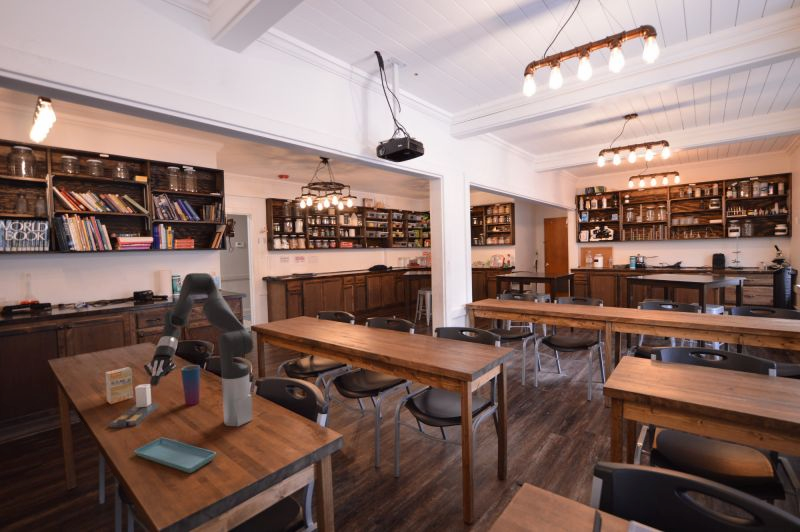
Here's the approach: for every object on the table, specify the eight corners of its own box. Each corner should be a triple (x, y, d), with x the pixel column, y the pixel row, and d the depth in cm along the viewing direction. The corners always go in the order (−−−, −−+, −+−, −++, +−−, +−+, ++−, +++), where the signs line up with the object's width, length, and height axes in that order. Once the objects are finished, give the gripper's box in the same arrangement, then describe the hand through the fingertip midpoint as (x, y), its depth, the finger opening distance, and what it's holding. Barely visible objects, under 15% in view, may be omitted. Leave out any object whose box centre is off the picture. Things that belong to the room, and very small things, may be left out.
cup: (193, 407, 152) (191, 370, 151) (179, 406, 153) (177, 370, 152) (205, 400, 159) (203, 365, 158) (191, 399, 160) (189, 364, 159)
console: (136, 407, 153) (135, 400, 153) (160, 405, 154) (159, 399, 154) (108, 428, 135) (107, 421, 135) (135, 426, 136) (134, 419, 136)
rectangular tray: (133, 457, 117) (132, 449, 117) (162, 442, 125) (161, 435, 125) (189, 477, 106) (189, 468, 106) (217, 460, 114) (217, 452, 114)
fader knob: (140, 404, 152) (139, 384, 151) (151, 403, 152) (150, 383, 152) (136, 407, 149) (135, 387, 148) (147, 406, 149) (146, 386, 149)
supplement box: (110, 404, 156) (108, 373, 156) (106, 402, 159) (104, 371, 158) (133, 398, 163) (131, 368, 162) (129, 395, 166) (127, 366, 165)
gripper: (146, 345, 165) (132, 382, 154) (178, 343, 167) (166, 380, 156) (153, 354, 171) (140, 390, 160) (184, 352, 173) (173, 388, 161)
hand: (153, 385), depth 158 cm, fingers closed
